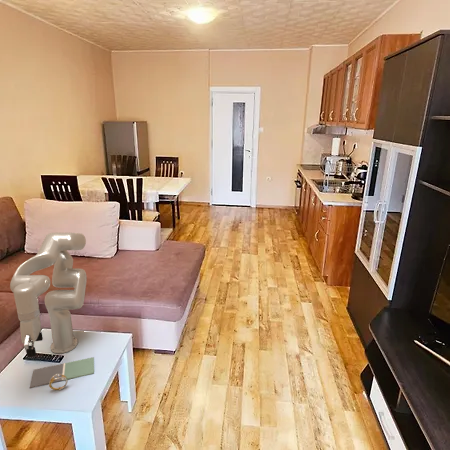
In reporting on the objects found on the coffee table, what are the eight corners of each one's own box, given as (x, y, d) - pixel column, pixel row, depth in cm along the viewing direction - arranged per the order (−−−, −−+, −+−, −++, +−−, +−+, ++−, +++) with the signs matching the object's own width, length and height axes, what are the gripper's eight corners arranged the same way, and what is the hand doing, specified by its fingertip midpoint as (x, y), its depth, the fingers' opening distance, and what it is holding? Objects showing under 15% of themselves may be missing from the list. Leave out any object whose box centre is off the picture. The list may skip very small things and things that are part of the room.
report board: (33, 370, 151) (33, 369, 151) (93, 358, 160) (93, 356, 160) (29, 388, 141) (29, 387, 141) (94, 373, 151) (93, 372, 150)
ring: (68, 385, 144) (66, 370, 141) (67, 391, 141) (65, 376, 138) (51, 388, 142) (48, 373, 139) (49, 394, 139) (47, 379, 136)
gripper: (25, 302, 138) (31, 336, 143) (10, 327, 122) (18, 364, 128) (45, 300, 140) (50, 334, 145) (32, 324, 124) (39, 361, 129)
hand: (35, 348), depth 136 cm, fingers open, 9 cm apart
